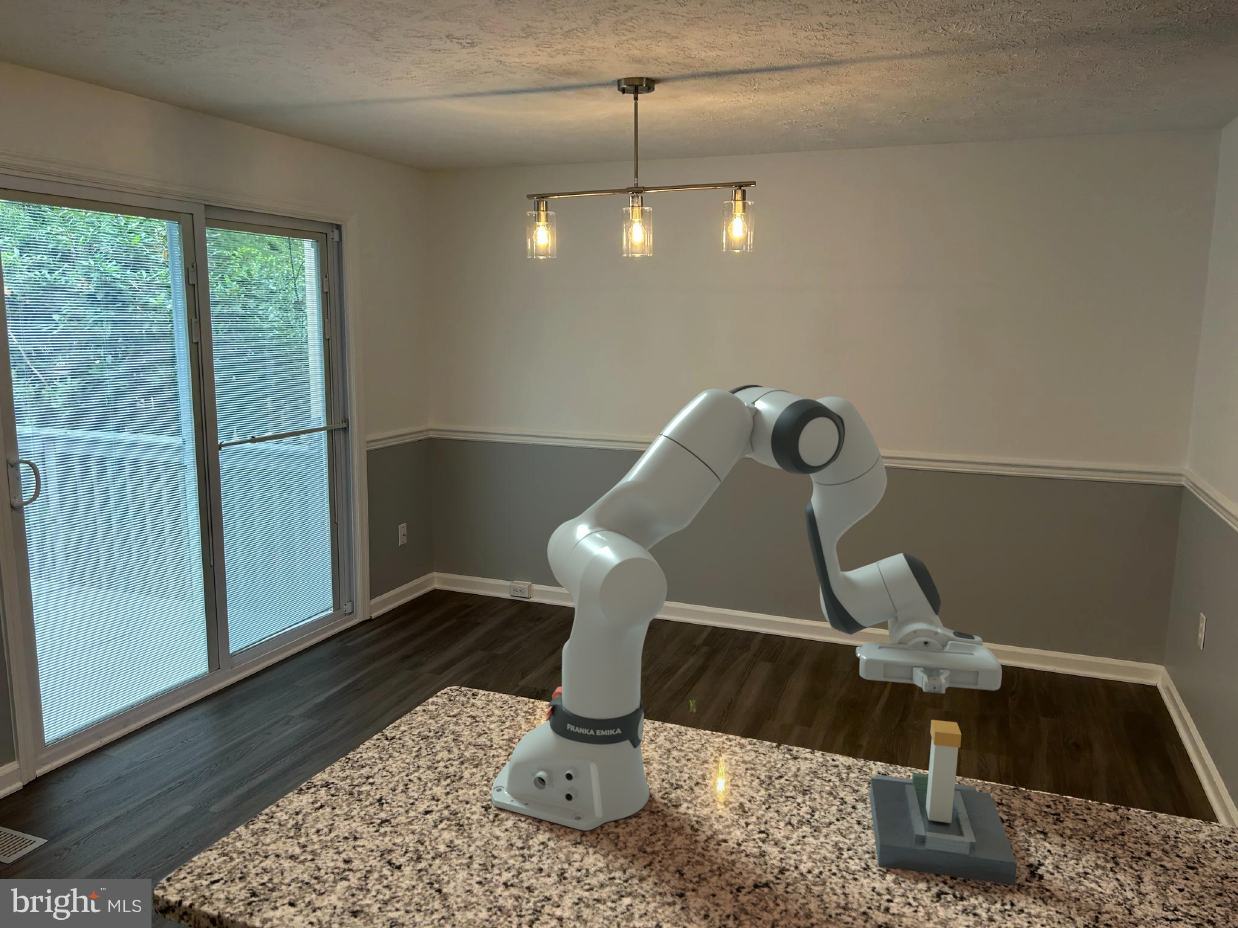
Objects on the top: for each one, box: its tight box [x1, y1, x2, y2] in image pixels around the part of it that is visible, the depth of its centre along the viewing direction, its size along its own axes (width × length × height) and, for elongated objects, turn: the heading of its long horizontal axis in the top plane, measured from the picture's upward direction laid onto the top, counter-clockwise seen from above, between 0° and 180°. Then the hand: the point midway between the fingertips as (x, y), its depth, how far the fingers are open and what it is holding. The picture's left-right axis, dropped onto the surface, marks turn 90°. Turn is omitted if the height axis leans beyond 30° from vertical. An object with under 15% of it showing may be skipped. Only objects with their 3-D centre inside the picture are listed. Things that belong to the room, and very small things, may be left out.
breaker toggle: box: [926, 719, 962, 823], centre depth 113 cm, size 3×3×12 cm
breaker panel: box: [869, 772, 1018, 886], centre depth 115 cm, size 16×16×5 cm
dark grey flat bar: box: [874, 774, 978, 791], centre depth 125 cm, size 14×4×1 cm, turn 78°
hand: (934, 687), depth 124 cm, fingers closed
